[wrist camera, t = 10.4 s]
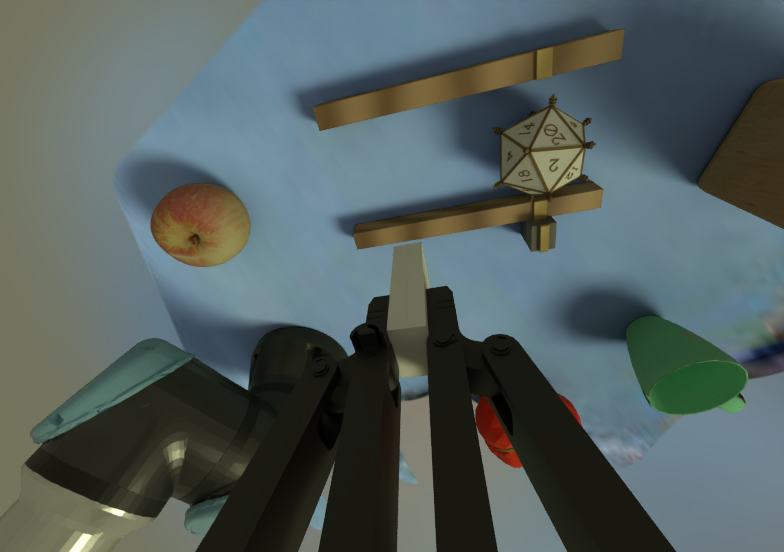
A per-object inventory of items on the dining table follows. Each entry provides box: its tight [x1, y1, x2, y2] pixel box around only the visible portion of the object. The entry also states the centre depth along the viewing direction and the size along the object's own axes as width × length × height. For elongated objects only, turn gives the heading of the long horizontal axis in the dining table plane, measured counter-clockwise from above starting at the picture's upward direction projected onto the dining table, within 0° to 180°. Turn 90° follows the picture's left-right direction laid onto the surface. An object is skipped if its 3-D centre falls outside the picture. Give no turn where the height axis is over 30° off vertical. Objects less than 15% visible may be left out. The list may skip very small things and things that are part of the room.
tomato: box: [475, 393, 582, 468], centre depth 51 cm, size 14×16×10 cm
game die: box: [493, 94, 596, 203], centre depth 30 cm, size 9×8×10 cm
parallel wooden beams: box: [313, 29, 625, 252], centre depth 33 cm, size 26×18×4 cm
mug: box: [626, 316, 748, 415], centre depth 42 cm, size 15×10×10 cm
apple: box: [151, 183, 250, 267], centre depth 35 cm, size 9×9×8 cm
